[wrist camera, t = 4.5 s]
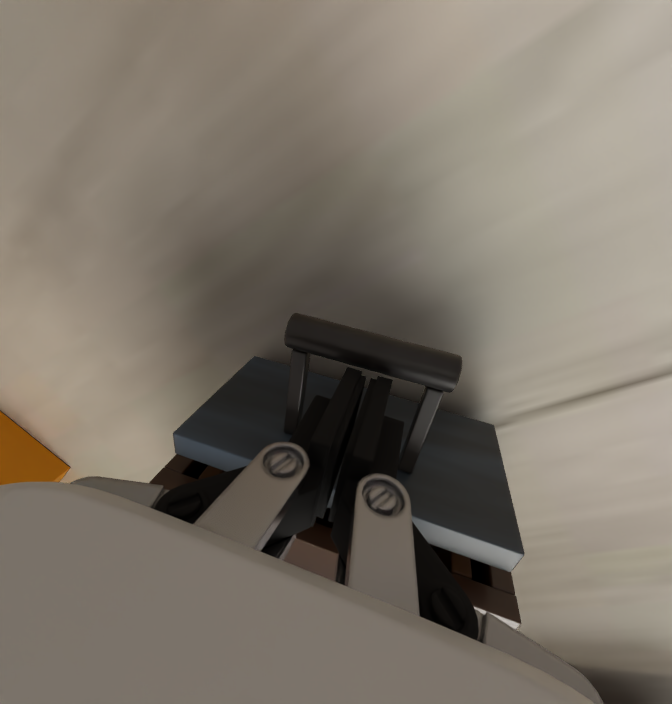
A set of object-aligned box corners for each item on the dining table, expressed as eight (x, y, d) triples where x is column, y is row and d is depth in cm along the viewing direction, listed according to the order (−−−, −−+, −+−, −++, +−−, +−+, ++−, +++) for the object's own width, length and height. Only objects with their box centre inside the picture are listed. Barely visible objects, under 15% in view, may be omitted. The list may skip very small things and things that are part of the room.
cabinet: (251, 375, 21) (148, 482, 13) (487, 446, 19) (522, 624, 11) (246, 529, 29) (180, 649, 22) (409, 591, 27) (398, 750, 19)
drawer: (257, 262, 16) (156, 307, 10) (543, 330, 14) (620, 436, 8) (248, 517, 27) (194, 613, 21) (412, 579, 25) (405, 705, 19)
